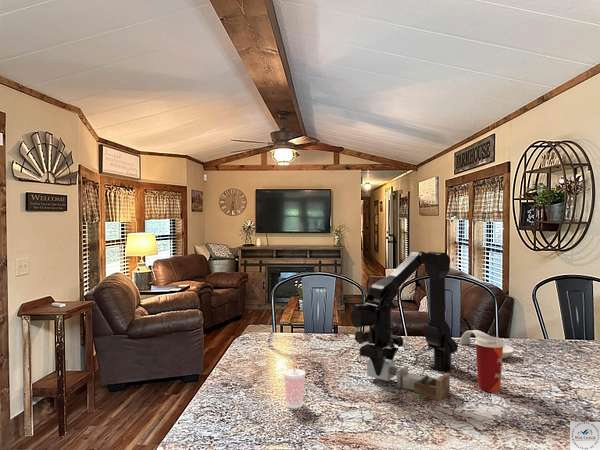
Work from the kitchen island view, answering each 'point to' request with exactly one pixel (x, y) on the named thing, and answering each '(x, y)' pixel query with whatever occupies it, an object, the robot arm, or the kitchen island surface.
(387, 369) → the block with dome knob
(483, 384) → the coffee cup
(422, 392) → the housing
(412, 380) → the metal-capped square post
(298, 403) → the beverage cup
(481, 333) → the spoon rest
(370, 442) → the kitchen island surface
